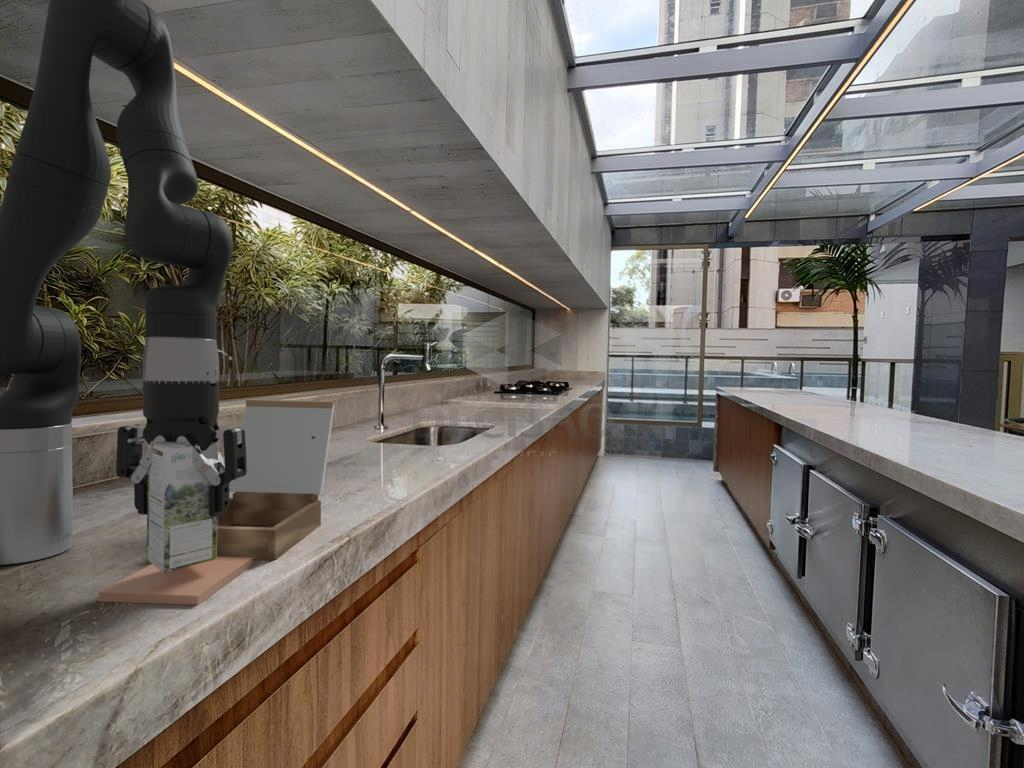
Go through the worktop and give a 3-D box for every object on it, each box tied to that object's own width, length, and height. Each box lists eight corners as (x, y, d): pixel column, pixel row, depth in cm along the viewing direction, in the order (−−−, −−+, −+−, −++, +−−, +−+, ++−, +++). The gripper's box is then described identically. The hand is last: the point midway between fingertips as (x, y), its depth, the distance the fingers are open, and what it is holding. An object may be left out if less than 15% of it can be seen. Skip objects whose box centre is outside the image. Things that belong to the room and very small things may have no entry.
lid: (228, 493, 83) (228, 402, 83) (249, 484, 89) (249, 399, 89) (320, 495, 83) (320, 404, 82) (334, 486, 89) (335, 401, 88)
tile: (98, 601, 56) (98, 592, 56) (169, 562, 67) (169, 554, 67) (197, 604, 55) (197, 595, 55) (252, 565, 66) (252, 557, 66)
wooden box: (165, 556, 69) (164, 452, 68) (243, 515, 88) (243, 433, 87) (275, 559, 68) (275, 455, 68) (330, 517, 87) (330, 435, 87)
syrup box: (199, 548, 65) (199, 435, 65) (218, 560, 61) (218, 440, 61) (146, 561, 61) (145, 439, 60) (163, 575, 57) (163, 445, 56)
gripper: (96, 376, 57) (97, 522, 57) (222, 379, 56) (222, 525, 57) (146, 375, 64) (147, 503, 65) (258, 377, 64) (258, 507, 64)
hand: (182, 514), depth 61 cm, fingers closed on syrup box, 8 cm apart
